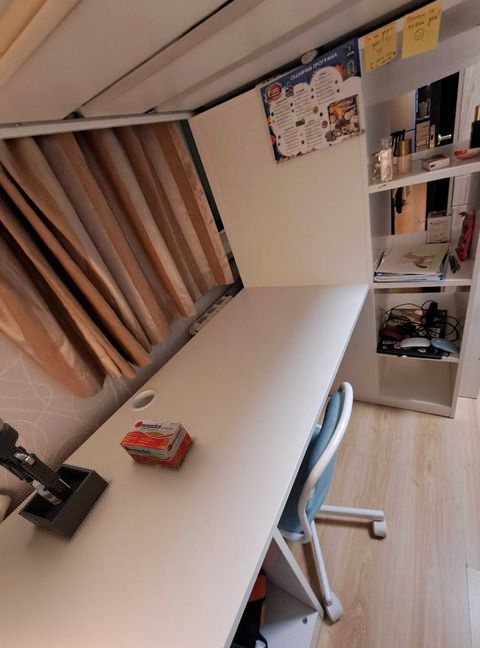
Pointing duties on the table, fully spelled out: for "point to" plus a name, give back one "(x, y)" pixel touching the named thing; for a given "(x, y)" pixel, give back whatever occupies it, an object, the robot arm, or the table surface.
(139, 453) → the medicine box
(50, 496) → the pill bottle
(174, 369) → the table surface
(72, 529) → the basket
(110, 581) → the table surface
